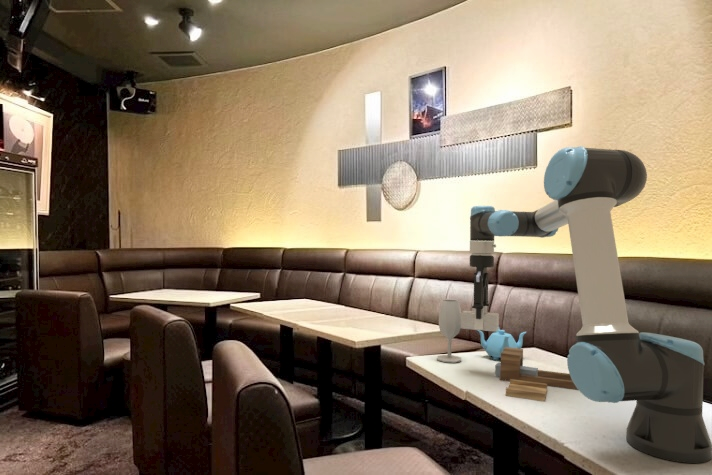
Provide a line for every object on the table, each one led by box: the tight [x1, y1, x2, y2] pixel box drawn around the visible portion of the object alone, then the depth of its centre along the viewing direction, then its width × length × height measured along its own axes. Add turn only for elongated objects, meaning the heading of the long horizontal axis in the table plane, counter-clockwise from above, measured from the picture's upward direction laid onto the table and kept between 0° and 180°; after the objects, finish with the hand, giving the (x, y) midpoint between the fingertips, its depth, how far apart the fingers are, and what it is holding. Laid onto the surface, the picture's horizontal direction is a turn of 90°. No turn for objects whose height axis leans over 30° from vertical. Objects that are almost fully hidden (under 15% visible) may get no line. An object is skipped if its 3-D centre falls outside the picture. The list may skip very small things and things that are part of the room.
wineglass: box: [436, 298, 462, 364], centre depth 172 cm, size 9×9×21 cm
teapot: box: [476, 327, 527, 361], centre depth 176 cm, size 13×13×10 cm
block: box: [460, 310, 500, 333], centre depth 157 cm, size 11×5×5 cm, turn 66°
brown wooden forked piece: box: [499, 347, 580, 391], centre depth 149 cm, size 10×24×8 cm, turn 66°
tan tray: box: [505, 379, 548, 402], centre depth 137 cm, size 10×10×2 cm
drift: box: [494, 362, 539, 378], centre depth 152 cm, size 12×4×4 cm, turn 61°
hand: (480, 327), depth 156 cm, fingers closed on block, 5 cm apart
